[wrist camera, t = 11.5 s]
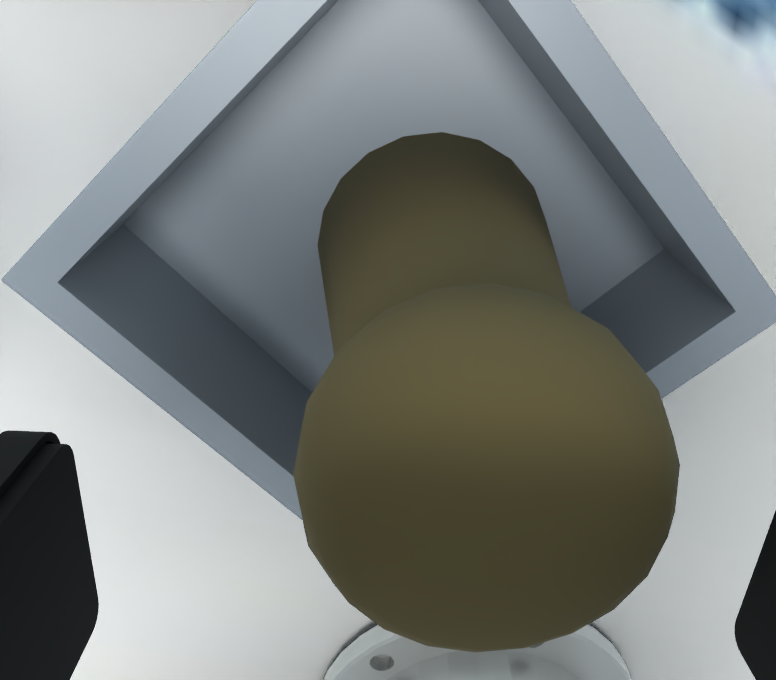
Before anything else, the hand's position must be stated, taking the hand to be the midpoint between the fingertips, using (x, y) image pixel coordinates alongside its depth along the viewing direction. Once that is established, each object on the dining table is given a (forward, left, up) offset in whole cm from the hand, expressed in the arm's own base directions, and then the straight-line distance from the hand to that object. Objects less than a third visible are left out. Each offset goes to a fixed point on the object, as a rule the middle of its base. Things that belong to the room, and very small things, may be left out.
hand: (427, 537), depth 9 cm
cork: (0, -1, -10) cm, 10 cm away
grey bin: (+1, 0, -11) cm, 11 cm away
